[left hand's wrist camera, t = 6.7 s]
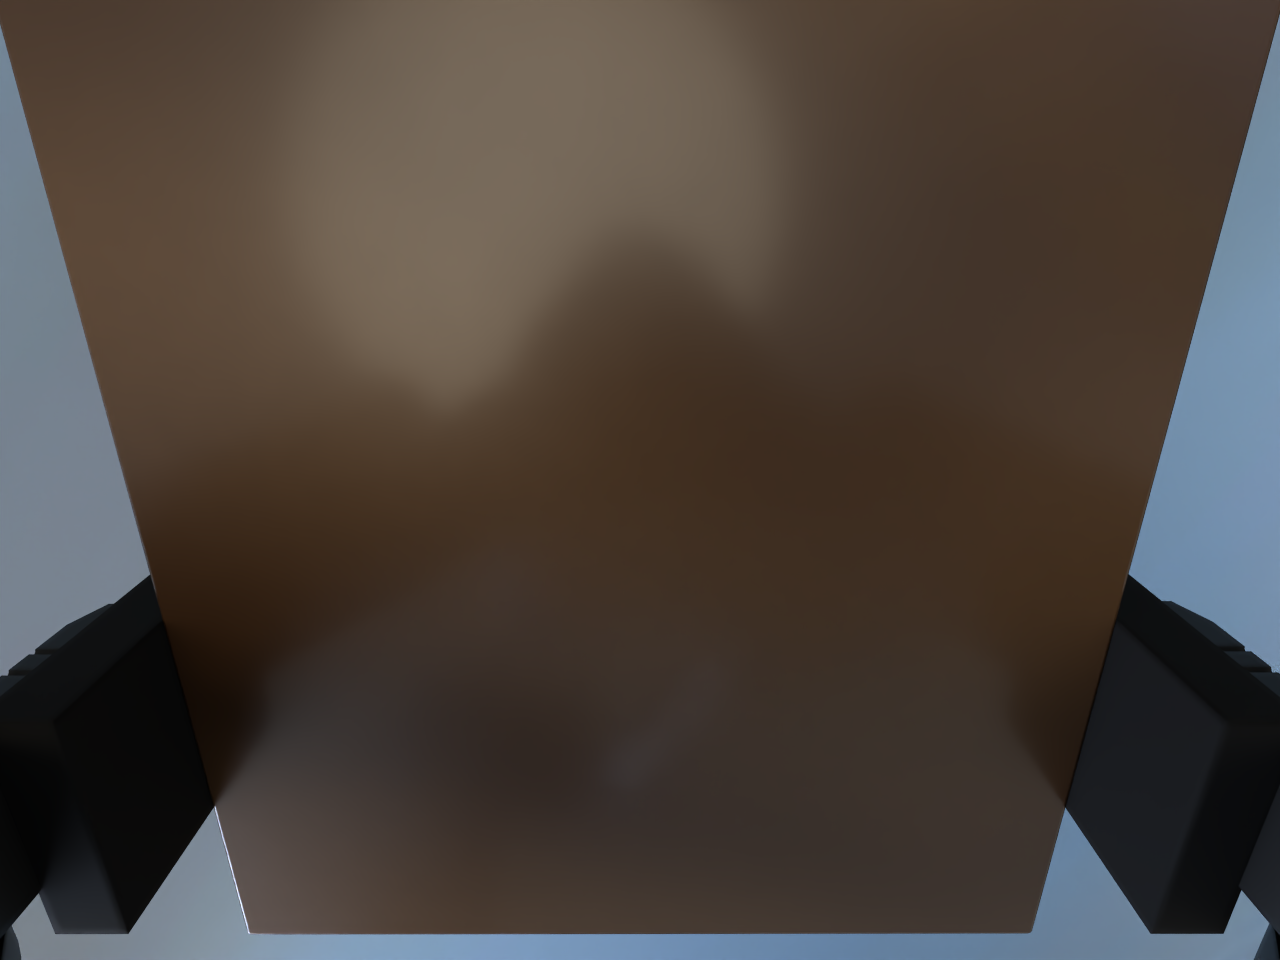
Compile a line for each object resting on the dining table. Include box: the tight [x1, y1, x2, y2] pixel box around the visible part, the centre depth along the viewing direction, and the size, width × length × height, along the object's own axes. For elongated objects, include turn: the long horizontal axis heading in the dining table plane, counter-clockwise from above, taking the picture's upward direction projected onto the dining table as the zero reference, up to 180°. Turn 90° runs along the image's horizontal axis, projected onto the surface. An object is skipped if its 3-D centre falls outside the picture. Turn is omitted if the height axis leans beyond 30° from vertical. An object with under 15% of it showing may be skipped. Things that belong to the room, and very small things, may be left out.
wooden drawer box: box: [0, 0, 1280, 934], centre depth 11 cm, size 21×11×11 cm, turn 0°
